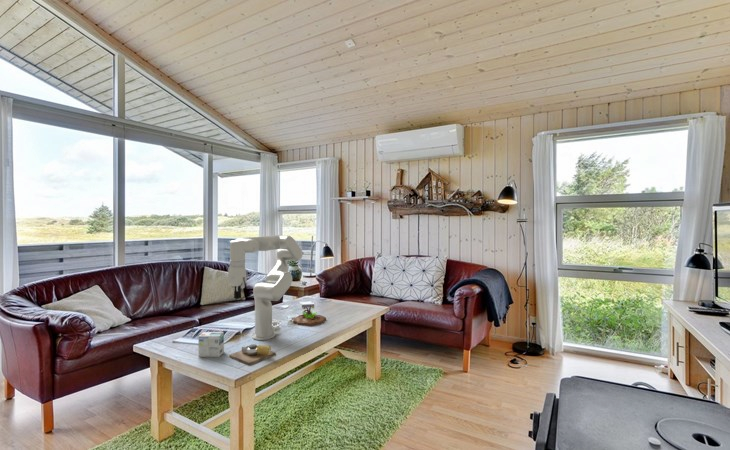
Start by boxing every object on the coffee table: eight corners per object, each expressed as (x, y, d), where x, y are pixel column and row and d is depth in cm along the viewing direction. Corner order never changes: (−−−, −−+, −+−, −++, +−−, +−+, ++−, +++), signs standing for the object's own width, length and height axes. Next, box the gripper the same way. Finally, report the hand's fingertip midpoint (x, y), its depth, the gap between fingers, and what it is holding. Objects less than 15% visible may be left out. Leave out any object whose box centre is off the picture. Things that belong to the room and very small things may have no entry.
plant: (313, 328, 229) (313, 310, 228) (288, 323, 237) (288, 306, 237) (330, 319, 247) (330, 303, 246) (306, 315, 255) (306, 300, 255)
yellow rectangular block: (239, 354, 183) (239, 346, 182) (246, 349, 189) (246, 341, 189) (266, 357, 180) (266, 349, 179) (272, 352, 186) (272, 344, 186)
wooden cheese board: (255, 347, 196) (255, 337, 196) (275, 354, 186) (275, 344, 186) (229, 356, 183) (229, 346, 183) (249, 365, 173) (249, 354, 173)
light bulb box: (224, 351, 189) (224, 331, 189) (219, 357, 183) (219, 336, 182) (203, 351, 189) (203, 331, 188) (198, 357, 182) (197, 335, 182)
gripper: (222, 263, 193) (223, 297, 194) (240, 266, 184) (240, 302, 185) (235, 261, 199) (235, 294, 200) (252, 264, 190) (252, 299, 191)
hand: (237, 298), depth 192 cm, fingers closed
